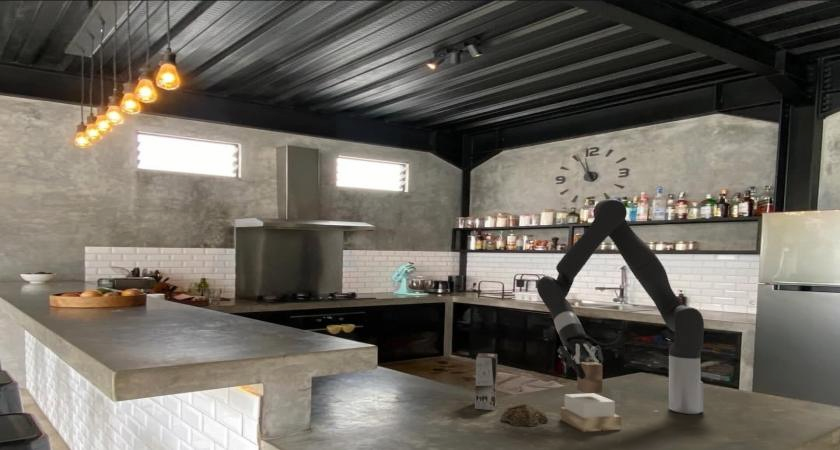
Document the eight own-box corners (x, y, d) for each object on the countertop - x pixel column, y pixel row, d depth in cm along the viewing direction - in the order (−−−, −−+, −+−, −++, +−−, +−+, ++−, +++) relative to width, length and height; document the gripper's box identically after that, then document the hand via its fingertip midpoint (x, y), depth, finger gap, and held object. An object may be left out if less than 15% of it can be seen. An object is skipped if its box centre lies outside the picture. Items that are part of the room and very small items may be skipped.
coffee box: (495, 410, 175) (496, 357, 176) (474, 409, 176) (475, 356, 177) (497, 403, 184) (498, 353, 185) (477, 402, 185) (478, 352, 186)
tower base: (595, 419, 171) (596, 405, 171) (620, 430, 159) (621, 416, 160) (560, 421, 167) (560, 407, 168) (583, 433, 156) (583, 418, 156)
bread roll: (518, 413, 174) (518, 396, 175) (553, 422, 166) (553, 405, 166) (492, 420, 165) (492, 403, 166) (527, 430, 157) (527, 412, 157)
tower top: (593, 406, 170) (594, 393, 170) (614, 415, 160) (614, 401, 160) (564, 408, 167) (564, 394, 167) (583, 417, 157) (584, 403, 157)
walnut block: (592, 388, 167) (592, 361, 168) (602, 392, 162) (602, 364, 163) (577, 389, 166) (577, 361, 166) (586, 393, 161) (587, 364, 161)
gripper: (553, 322, 171) (574, 370, 159) (595, 322, 175) (618, 369, 163) (544, 337, 176) (564, 385, 164) (585, 337, 180) (607, 383, 168)
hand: (591, 376), depth 164 cm, fingers closed on walnut block, 5 cm apart
